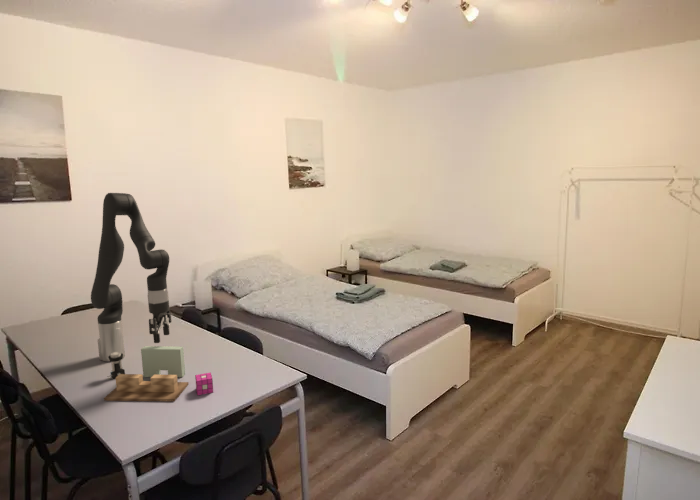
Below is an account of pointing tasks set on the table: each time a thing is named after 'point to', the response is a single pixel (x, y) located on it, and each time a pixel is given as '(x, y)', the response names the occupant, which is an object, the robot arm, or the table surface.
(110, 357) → the push button
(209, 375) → the puzzle toy
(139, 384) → the oak slotted rail
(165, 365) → the sage slotted plate
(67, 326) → the table surface
